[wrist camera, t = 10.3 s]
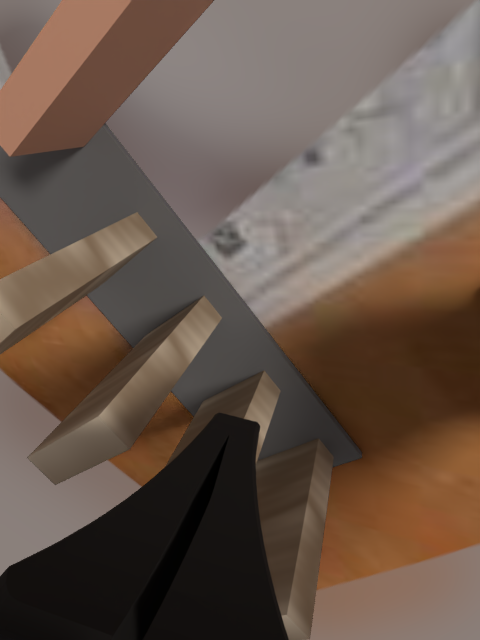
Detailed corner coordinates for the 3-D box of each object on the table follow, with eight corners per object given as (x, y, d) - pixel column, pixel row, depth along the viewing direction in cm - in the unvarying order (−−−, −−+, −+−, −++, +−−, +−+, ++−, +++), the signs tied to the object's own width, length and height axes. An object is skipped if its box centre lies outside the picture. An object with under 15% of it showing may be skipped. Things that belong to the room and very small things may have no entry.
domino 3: (146, 334, 25) (27, 457, 17) (204, 295, 22) (98, 416, 14) (163, 354, 25) (55, 485, 17) (222, 318, 23) (129, 449, 14)
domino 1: (-21, 121, 16) (153, -133, 11) (61, 118, 20) (211, -66, 16) (10, 156, 16) (191, -76, 12) (84, 146, 20) (237, -26, 16)
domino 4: (203, 400, 26) (118, 547, 18) (264, 370, 24) (199, 523, 15) (218, 419, 27) (143, 570, 18) (280, 390, 24) (226, 551, 16)
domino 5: (255, 461, 27) (199, 625, 19) (318, 438, 25) (286, 615, 16) (269, 478, 28) (221, 645, 19) (333, 456, 25) (309, 639, 17)
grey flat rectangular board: (59, 64, 19) (53, 64, 19) (362, 453, 25) (362, 457, 25) (-15, 171, 23) (-21, 173, 23) (260, 486, 29) (258, 490, 29)
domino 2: (83, 262, 24) (-79, 354, 15) (137, 212, 21) (-22, 289, 13) (102, 284, 24) (-47, 386, 16) (157, 237, 22) (15, 329, 13)
